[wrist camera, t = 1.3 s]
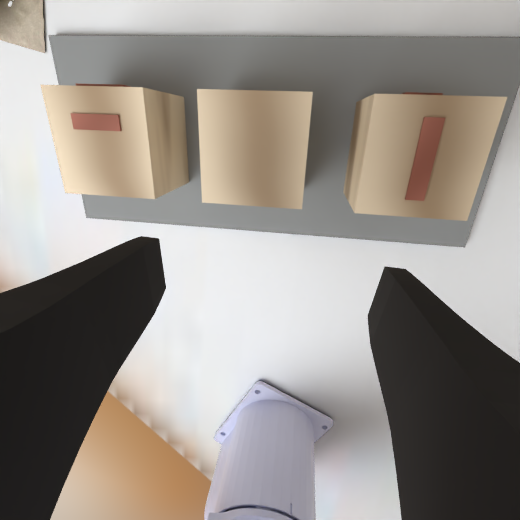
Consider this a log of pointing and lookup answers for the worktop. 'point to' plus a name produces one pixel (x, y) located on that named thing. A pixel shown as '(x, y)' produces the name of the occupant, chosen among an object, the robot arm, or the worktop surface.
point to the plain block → (253, 146)
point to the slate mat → (321, 121)
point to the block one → (419, 153)
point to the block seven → (118, 139)
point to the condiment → (23, 23)
